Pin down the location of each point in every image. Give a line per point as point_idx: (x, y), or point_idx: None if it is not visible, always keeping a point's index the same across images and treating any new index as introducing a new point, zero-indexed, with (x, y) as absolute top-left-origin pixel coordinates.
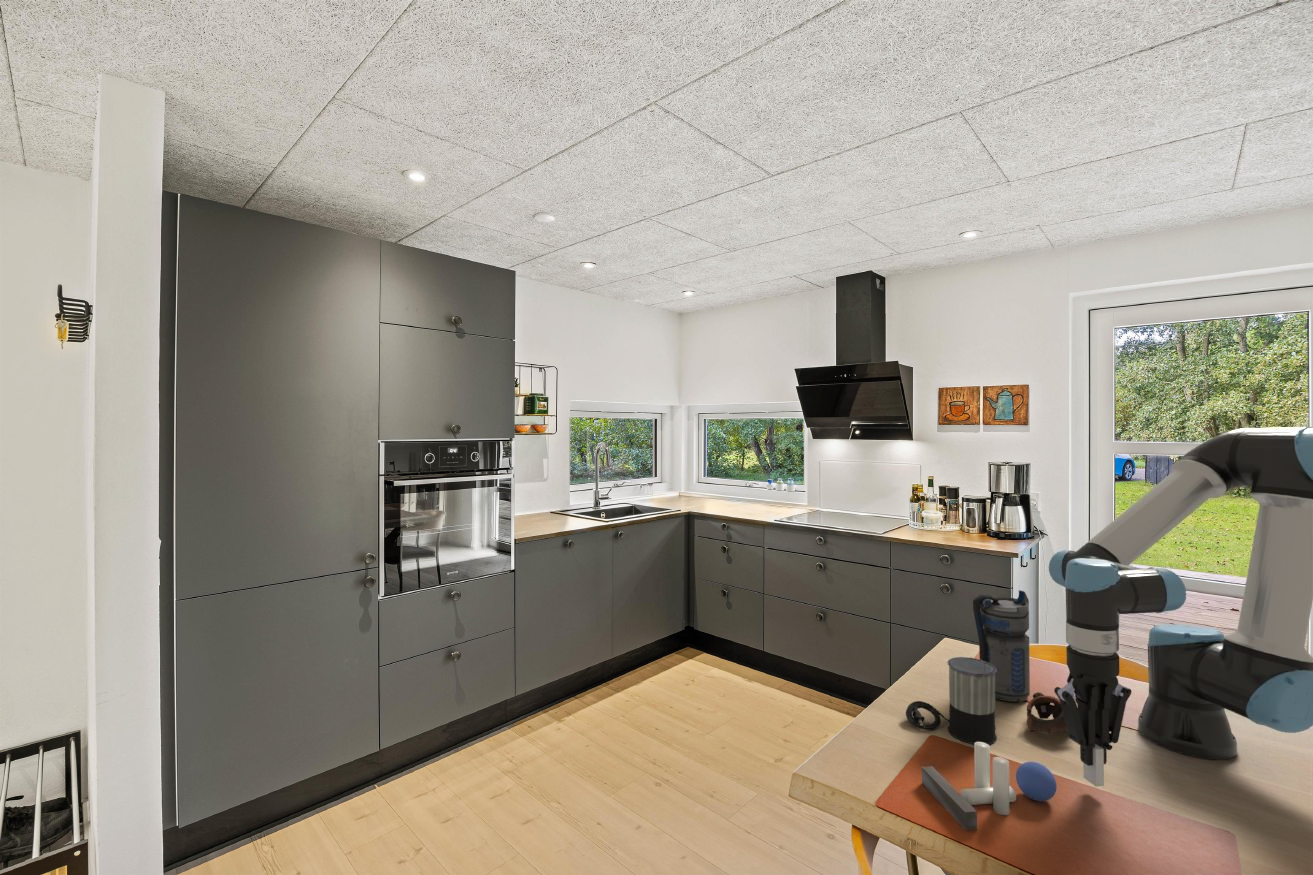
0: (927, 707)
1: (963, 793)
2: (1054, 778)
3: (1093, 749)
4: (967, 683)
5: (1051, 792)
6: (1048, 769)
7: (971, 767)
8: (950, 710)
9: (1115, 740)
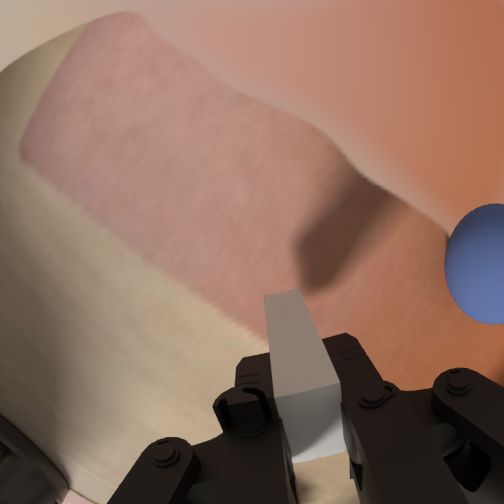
0: None
1: None
2: (485, 245)
3: (339, 389)
4: None
5: (484, 206)
6: (499, 277)
7: (501, 360)
8: None
9: (166, 449)
